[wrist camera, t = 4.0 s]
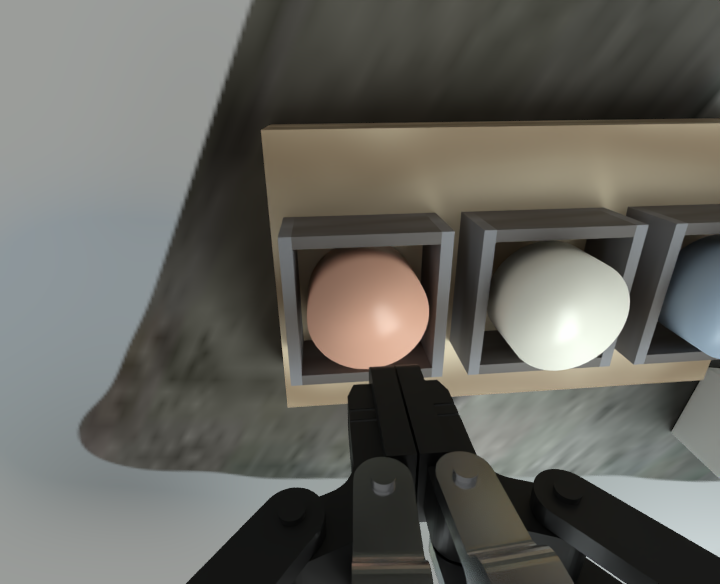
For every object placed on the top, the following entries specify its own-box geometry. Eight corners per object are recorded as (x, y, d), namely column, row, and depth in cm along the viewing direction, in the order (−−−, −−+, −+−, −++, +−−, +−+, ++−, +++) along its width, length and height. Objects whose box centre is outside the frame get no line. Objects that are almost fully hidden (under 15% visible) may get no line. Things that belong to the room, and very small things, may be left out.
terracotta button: (304, 242, 18) (302, 262, 16) (418, 237, 19) (432, 257, 17) (311, 342, 21) (310, 372, 18) (413, 336, 21) (425, 365, 19)
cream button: (493, 242, 18) (518, 262, 16) (604, 238, 19) (644, 257, 16) (480, 343, 20) (500, 374, 18) (580, 337, 21) (613, 367, 18)
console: (270, 124, 21) (250, 136, 15) (727, 118, 23) (885, 125, 16) (291, 365, 27) (283, 448, 20) (654, 344, 29) (750, 414, 22)
